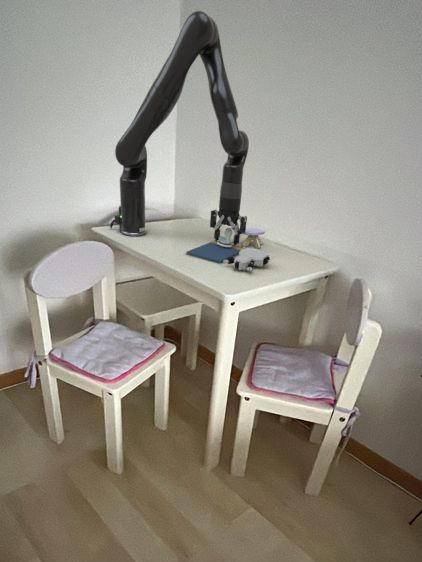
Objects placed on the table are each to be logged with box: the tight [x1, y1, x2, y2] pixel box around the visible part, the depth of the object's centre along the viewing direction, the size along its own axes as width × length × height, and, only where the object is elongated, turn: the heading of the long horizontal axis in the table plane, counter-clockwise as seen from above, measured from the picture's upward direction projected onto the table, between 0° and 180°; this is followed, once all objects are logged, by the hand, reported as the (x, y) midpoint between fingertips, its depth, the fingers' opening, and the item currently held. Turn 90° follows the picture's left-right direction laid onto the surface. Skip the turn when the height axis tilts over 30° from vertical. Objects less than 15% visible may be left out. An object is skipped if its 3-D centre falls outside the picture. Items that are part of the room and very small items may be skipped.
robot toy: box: [222, 246, 275, 272], centre depth 144 cm, size 12×4×15 cm
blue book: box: [186, 239, 245, 264], centre depth 156 cm, size 14×20×1 cm
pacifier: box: [217, 227, 234, 247], centre depth 158 cm, size 7×6×6 cm
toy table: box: [242, 227, 266, 249], centre depth 166 cm, size 10×9×6 cm
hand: (226, 242), depth 159 cm, fingers closed on pacifier, 7 cm apart
